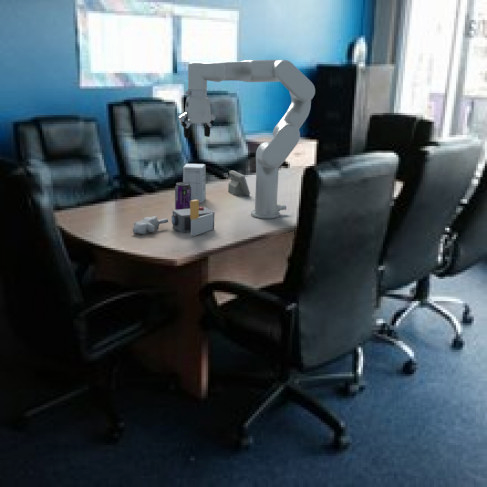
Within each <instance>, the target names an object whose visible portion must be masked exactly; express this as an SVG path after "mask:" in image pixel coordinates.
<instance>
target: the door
mask: <svg viewBox="0 0 487 487" xmlns="http://www.w3.org/2000/svg"><path fill="white" fill-rule="evenodd" d="M199 207H200V203H199V200H196V199H195V200H191V201H190V219H191V232H190V237H194V236H198V235H200V234H203V233H206V232H210V231H212V230H213V231H214V230H215V212H214V213H210V214H207V215H203V216H200V217H199Z"/></svg>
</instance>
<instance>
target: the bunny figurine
mask: <svg viewBox="0 0 487 487" xmlns="http://www.w3.org/2000/svg"><path fill="white" fill-rule="evenodd" d="M167 223H169V220H168V218H162V219H158V216H155V215H153V216H145V217H143V218H142V220H139V221H136V222H134V223H133V225H134V226H133V227H132V233H134V234H140V235H144V236H145V235H147V234H148V233H154V232H156V231H157V230H159V226H160V224H167Z"/></svg>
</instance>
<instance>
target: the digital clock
mask: <svg viewBox="0 0 487 487" xmlns="http://www.w3.org/2000/svg"><path fill="white" fill-rule="evenodd" d="M228 173H229V176H230V180H231V181H230V182H229V183H228V187H227V188H228V193H230V194H231V193H232V195H233V196H235V195H238V196H246V197H248V196H250V194H251V192H250V190H249V186H248V182H247V180H246V177H245V175H244V174H242V173H239V172H237V171H235V170H229V171H228Z"/></svg>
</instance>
